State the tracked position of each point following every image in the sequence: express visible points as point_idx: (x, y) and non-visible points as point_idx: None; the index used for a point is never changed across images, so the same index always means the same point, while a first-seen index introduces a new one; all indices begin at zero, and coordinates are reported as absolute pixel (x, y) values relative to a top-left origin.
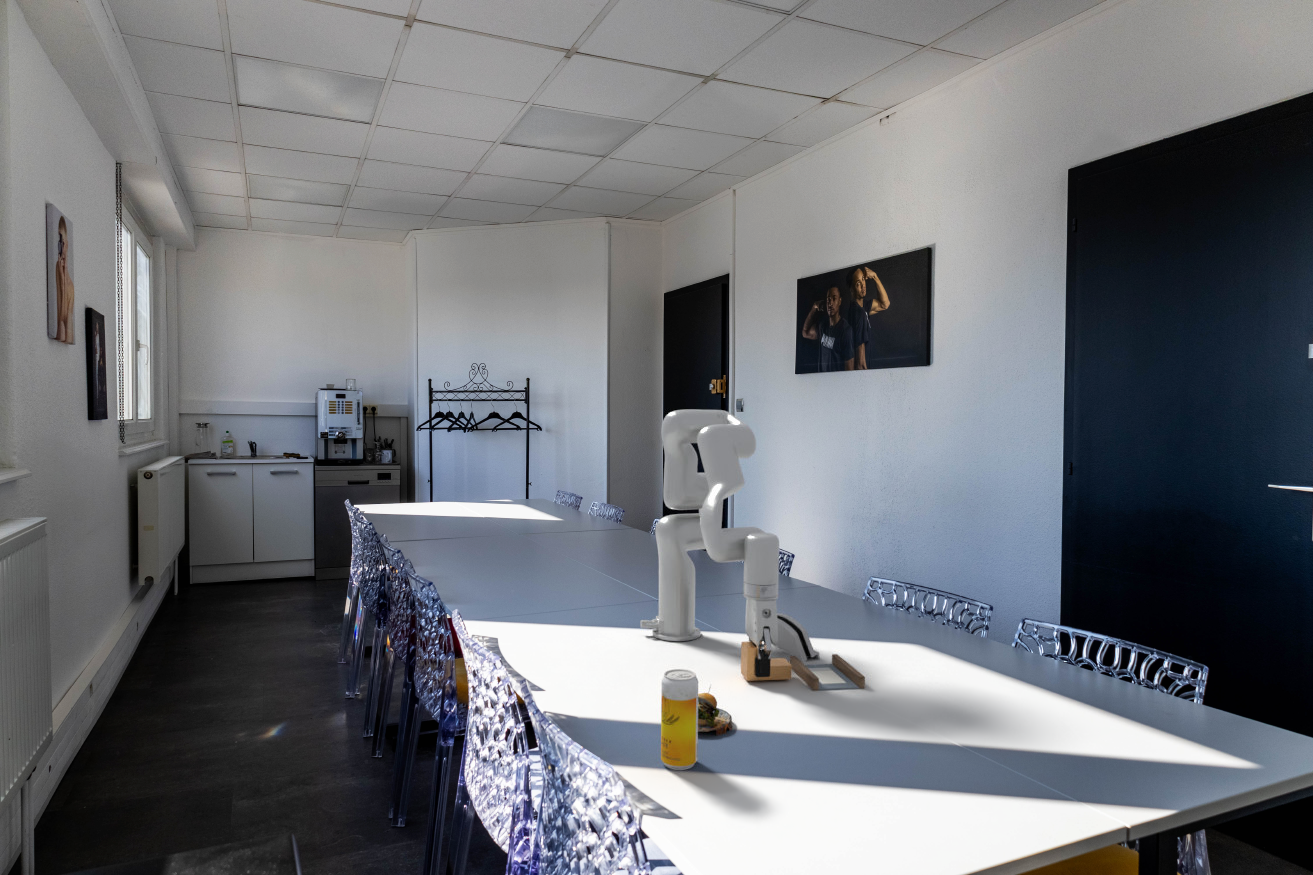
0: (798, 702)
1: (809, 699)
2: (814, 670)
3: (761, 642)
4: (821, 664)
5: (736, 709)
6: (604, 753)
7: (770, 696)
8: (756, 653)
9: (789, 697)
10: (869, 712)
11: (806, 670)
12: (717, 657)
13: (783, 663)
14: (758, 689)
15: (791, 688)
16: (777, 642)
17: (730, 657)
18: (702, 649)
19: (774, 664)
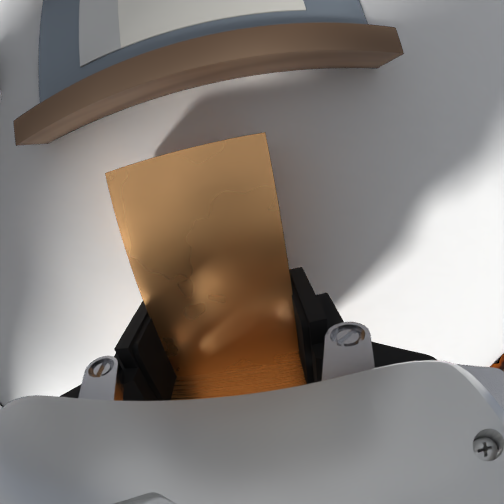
0: (481, 172)
1: (462, 122)
2: (108, 30)
3: (116, 397)
4: (43, 24)
5: (475, 349)
6: None
7: (432, 263)
8: (156, 370)
9: (447, 192)
10: (500, 12)
11: (259, 46)
12: (45, 379)
13: (223, 189)
14: (361, 302)
15: (357, 157)
16: (456, 366)
17: (29, 348)
18: (17, 391)
19: (253, 256)
